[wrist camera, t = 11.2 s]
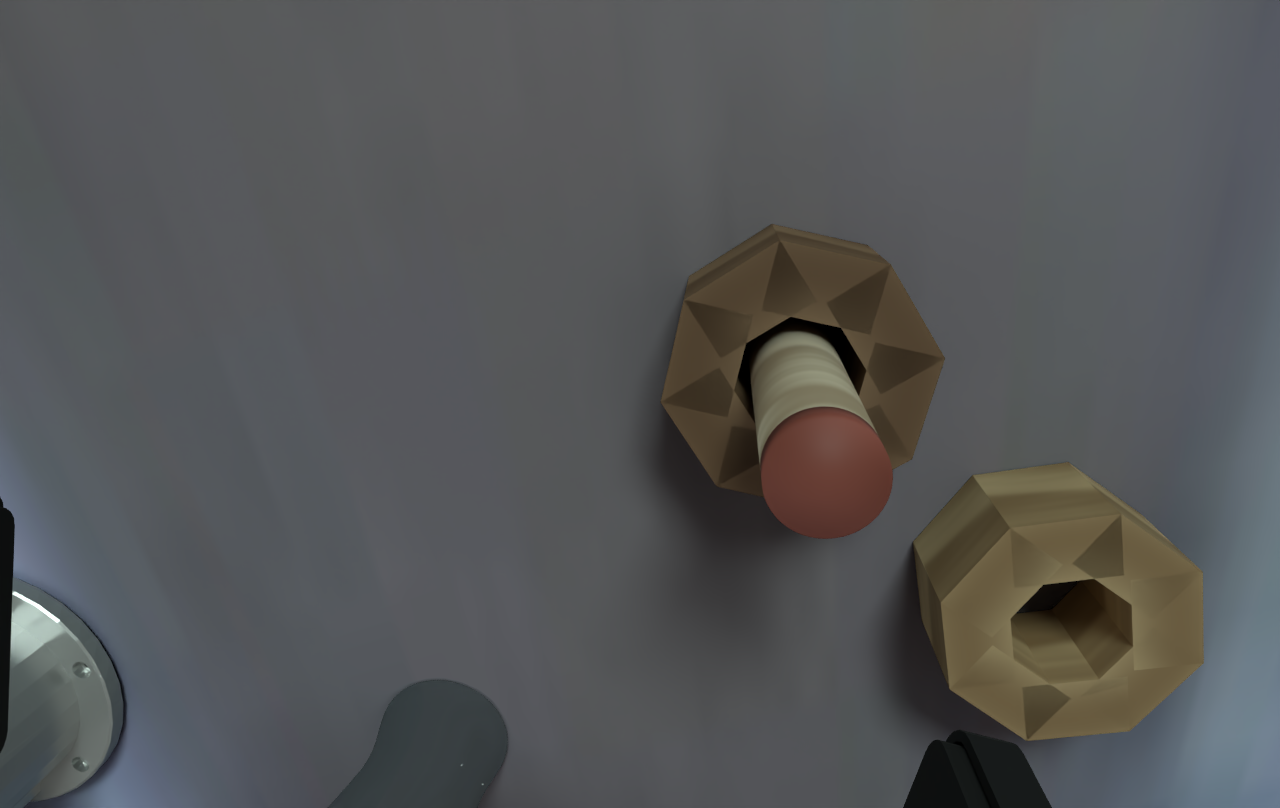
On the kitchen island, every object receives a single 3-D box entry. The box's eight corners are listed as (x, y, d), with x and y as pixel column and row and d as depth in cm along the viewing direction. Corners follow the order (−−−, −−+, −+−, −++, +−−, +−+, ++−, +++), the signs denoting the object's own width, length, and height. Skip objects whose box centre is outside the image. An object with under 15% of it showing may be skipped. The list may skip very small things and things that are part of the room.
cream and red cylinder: (816, 393, 36) (871, 550, 23) (739, 375, 36) (748, 522, 23) (838, 316, 35) (908, 434, 22) (758, 299, 35) (780, 405, 22)
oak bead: (1143, 649, 38) (1204, 724, 33) (927, 672, 39) (955, 747, 34) (1137, 452, 35) (1201, 503, 31) (906, 484, 37) (933, 537, 32)
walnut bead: (868, 474, 37) (890, 526, 32) (655, 425, 37) (644, 470, 32) (935, 260, 34) (970, 282, 29) (704, 208, 34) (701, 222, 29)
